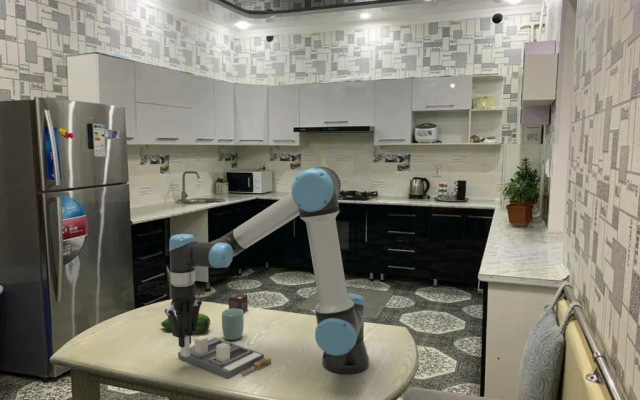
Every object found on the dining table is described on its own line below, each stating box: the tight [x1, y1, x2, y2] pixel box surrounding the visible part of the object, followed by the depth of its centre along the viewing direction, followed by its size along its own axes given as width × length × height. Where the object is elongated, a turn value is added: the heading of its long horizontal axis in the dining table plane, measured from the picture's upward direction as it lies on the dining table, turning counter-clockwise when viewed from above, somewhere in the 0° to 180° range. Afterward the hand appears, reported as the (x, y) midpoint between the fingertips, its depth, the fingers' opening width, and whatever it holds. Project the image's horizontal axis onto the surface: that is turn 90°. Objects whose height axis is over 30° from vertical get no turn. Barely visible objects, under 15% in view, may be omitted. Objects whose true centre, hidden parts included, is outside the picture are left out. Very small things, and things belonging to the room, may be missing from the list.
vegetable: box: [160, 313, 211, 334], centre depth 185 cm, size 7×7×20 cm
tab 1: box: [193, 335, 209, 355], centre depth 160 cm, size 3×3×5 cm
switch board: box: [177, 337, 265, 380], centre depth 161 cm, size 24×16×3 cm, turn 54°
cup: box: [221, 308, 245, 341], centre depth 179 cm, size 8×8×10 cm
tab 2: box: [216, 343, 230, 363], centre depth 155 cm, size 3×3×5 cm
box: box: [228, 292, 249, 314], centre depth 207 cm, size 6×6×7 cm
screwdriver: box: [240, 356, 272, 376], centre depth 154 cm, size 12×2×2 cm, turn 143°
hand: (185, 355), depth 155 cm, fingers closed
